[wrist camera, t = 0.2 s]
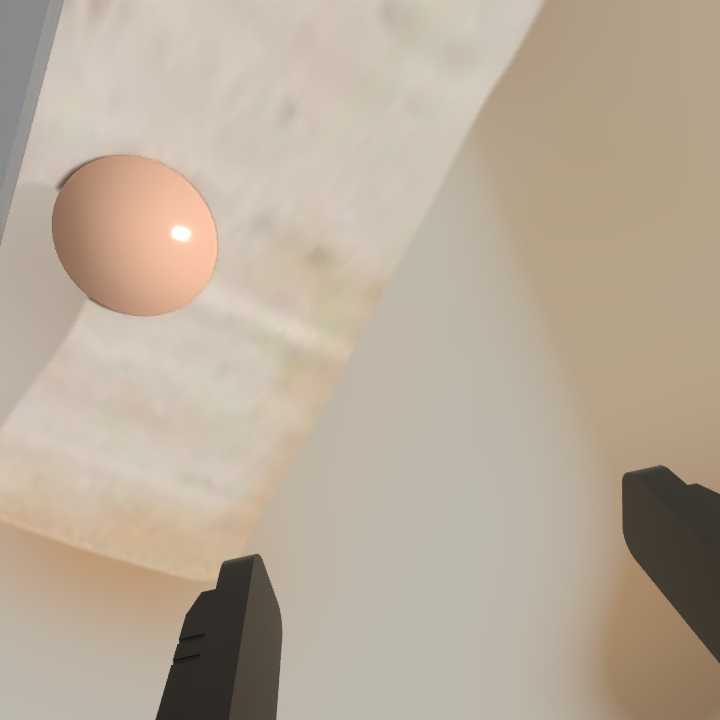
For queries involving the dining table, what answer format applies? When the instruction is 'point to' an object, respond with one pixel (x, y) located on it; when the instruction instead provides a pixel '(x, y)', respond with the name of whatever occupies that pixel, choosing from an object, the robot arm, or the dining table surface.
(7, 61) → the power strip
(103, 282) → the peach dome
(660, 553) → the robot arm
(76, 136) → the dining table surface
